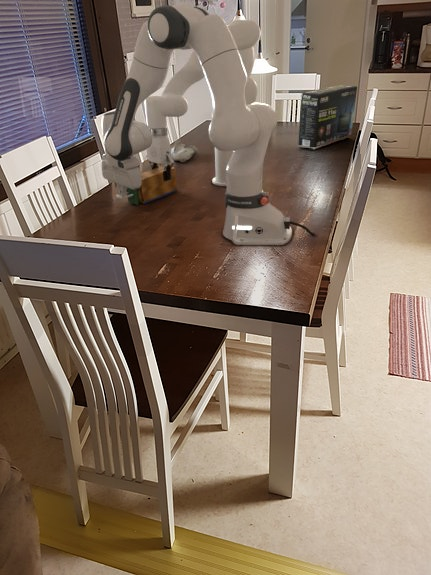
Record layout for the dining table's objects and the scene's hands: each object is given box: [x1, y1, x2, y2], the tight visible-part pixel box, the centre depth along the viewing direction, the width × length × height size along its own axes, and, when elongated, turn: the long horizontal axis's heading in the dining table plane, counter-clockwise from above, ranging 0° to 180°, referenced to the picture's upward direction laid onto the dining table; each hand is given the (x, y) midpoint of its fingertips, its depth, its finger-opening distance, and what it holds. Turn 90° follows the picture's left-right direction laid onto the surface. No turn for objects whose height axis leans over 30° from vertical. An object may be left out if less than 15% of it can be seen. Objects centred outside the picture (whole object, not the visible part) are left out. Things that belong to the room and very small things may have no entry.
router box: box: [297, 84, 358, 151], centre depth 238 cm, size 36×11×27 cm, turn 134°
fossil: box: [171, 142, 199, 163], centre depth 229 cm, size 18×11×15 cm
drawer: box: [115, 187, 143, 205], centre depth 176 cm, size 22×5×8 cm, turn 135°
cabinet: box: [138, 165, 178, 205], centre depth 180 cm, size 17×6×10 cm, turn 135°
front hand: (123, 194), depth 172 cm, fingers closed, pressing on drawer
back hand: (161, 178), depth 182 cm, fingers closed on cabinet, 6 cm apart
